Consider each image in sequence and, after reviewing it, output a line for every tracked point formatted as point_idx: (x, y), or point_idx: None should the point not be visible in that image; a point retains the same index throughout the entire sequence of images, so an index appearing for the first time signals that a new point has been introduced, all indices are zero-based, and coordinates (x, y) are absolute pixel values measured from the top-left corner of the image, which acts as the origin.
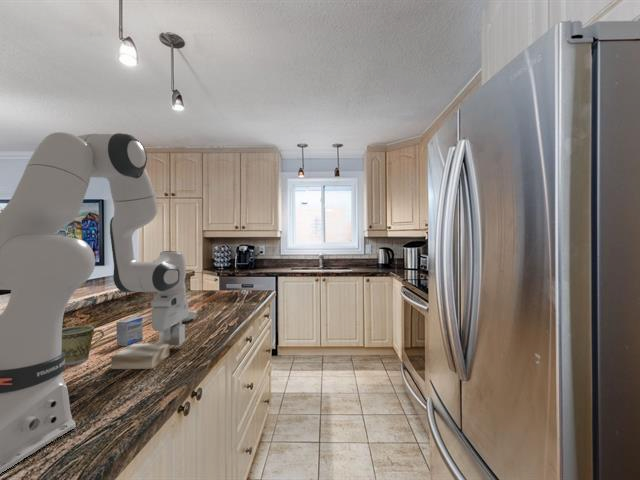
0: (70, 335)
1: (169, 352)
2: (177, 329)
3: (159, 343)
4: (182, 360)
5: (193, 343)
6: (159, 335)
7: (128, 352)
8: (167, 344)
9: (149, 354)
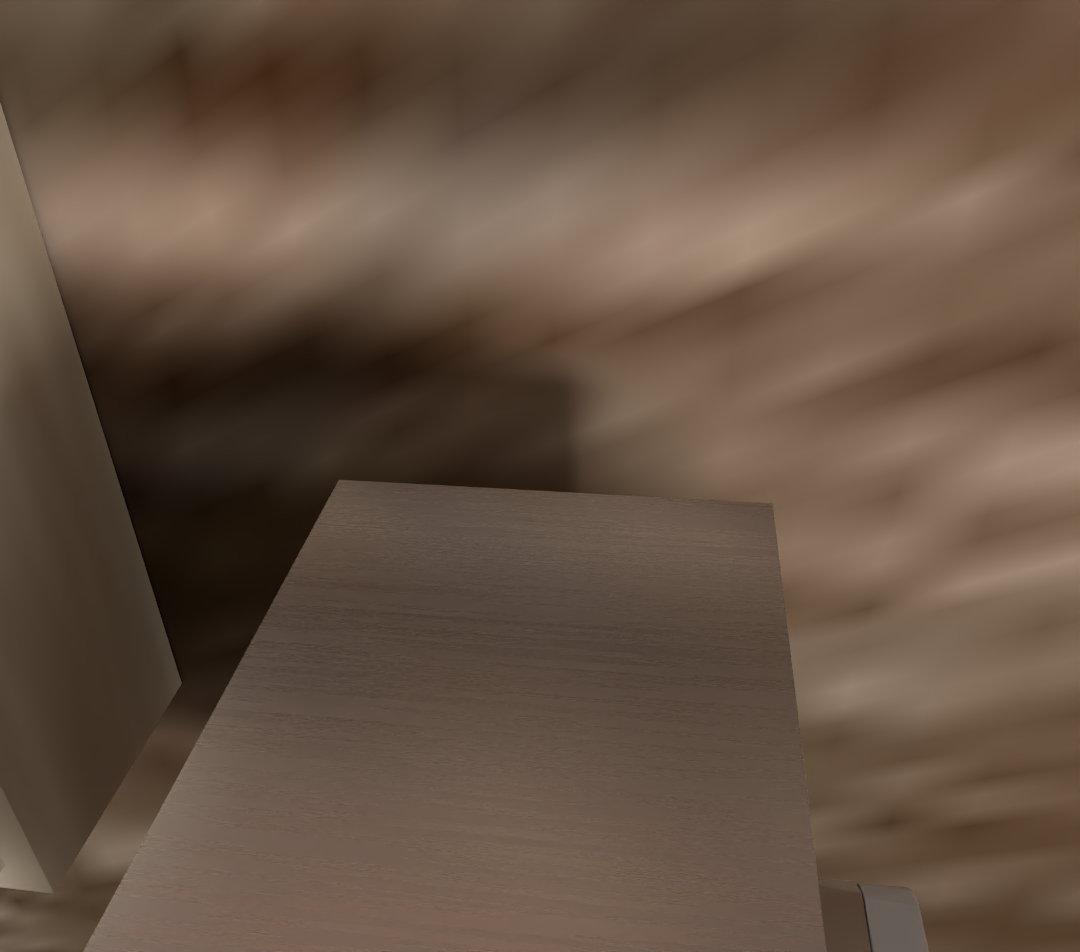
0: None
1: (153, 727)
2: None
3: (321, 531)
4: None
5: (929, 884)
6: (208, 740)
7: None
8: (11, 868)
9: None
